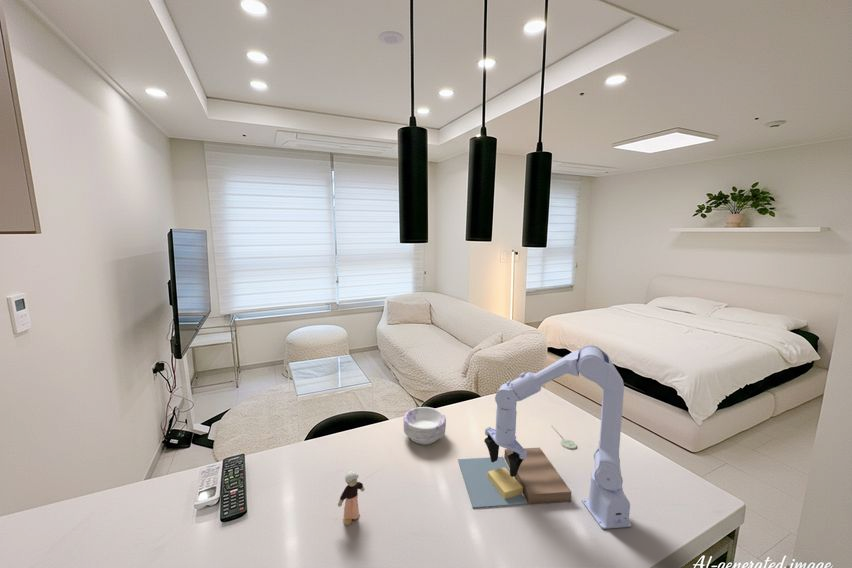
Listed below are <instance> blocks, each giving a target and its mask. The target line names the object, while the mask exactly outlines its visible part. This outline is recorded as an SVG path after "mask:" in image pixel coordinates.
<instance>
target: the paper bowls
mask: <svg viewBox="0 0 852 568" xmlns="http://www.w3.org/2000/svg"><path fill="white" fill-rule="evenodd" d="M446 422H447V417H446V415H445V414H444V413H443V411H441V410H439V409H438V408H434V407H429V406H419V407H414V408H411V409H410V410H407V412H405V414H404V415H403V432H404V434H405V435H406V436H407V438H409V439H411V440H412V441H413V442H414V443H416V444H418V445H430V444H433V443H435V442H436V441H438V439H440V438H442V437H443V436H444V435H445V434H446V428H447V427H446V426H447V423H446Z"/></svg>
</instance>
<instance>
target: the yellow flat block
mask: <svg viewBox="0 0 852 568" xmlns="http://www.w3.org/2000/svg"><path fill="white" fill-rule="evenodd" d="M487 478H488V479H489V480H490V482H491V483H492V484H493V485H494V487H495V488H496V489H497V490H498V492H499V493H500V494H501V496H502V497H503V498H504V499H507V498H510V497H514V496H517V495H520V494H522V495H524V494H523V487H522V486H521V485H520V483H519V482H518V481H517V480H516V479H515V477H511V476H510V472H509V471H508V470H507V469H506V468H505V467H504V468H500V469H496V470H492V471H488V477H487Z"/></svg>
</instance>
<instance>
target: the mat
mask: <svg viewBox="0 0 852 568" xmlns="http://www.w3.org/2000/svg"><path fill="white" fill-rule="evenodd" d="M457 461H458V464H459V467H460V472H461V475H462V478H463V481H464V484H465V488H466V490H467V494H468V497H469V500H470V504H471V507H472V509H473V510H474V509H485V508H486V509H488V508H498V507H499V506H502V507H513V506H514V507H515V505H516V506H526V505H528V502H527V500H526V498H525V496H524V494H520V495H517V496H514V497H510V498H507V499H504V498H503V497H502V496H501V494H500V493H499V492H498V490H497V489H496V488H495V487H494V485H493V484H492V483H491V482H490V480H489V479H488V478H487V477H488V471H492V470H496V469H500V468H504V467H505V468H506V469H507V470H508V471H509V472H510V468H509V466H508V464H507V462H506V460H505V458H504V456H498V460H497V461H495V462H491V458H490V456H489V457H475V458H458V459H457ZM487 507H488V508H487Z"/></svg>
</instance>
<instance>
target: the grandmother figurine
mask: <svg viewBox="0 0 852 568" xmlns="http://www.w3.org/2000/svg"><path fill="white" fill-rule="evenodd" d="M358 478H359V473H357V472H356V471H354V470H353V471H352V470H350V471H349V472H347V473H346V475H345V477H344V481H345V483H346V484H347V485H346V486H345V488H344V490H343V491H342V493H341V495H340V496H339V500H338V503H337V506H338V507H339V508H340V507H342V506H343V503H344V508H343V519H342V522H343V524H344V526H350V525H351V524H352V523H353V521H352V520H358V519H359V518H360V510H359V500H358V496H359V492H358V490H360V492H364V491H365V487H364V484H363V482H360V481H358ZM344 500H345V502H344Z"/></svg>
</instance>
